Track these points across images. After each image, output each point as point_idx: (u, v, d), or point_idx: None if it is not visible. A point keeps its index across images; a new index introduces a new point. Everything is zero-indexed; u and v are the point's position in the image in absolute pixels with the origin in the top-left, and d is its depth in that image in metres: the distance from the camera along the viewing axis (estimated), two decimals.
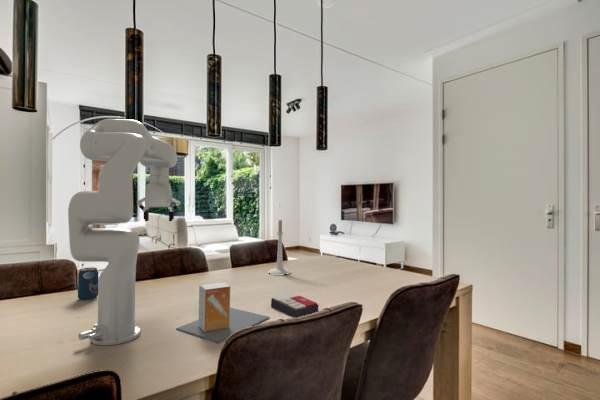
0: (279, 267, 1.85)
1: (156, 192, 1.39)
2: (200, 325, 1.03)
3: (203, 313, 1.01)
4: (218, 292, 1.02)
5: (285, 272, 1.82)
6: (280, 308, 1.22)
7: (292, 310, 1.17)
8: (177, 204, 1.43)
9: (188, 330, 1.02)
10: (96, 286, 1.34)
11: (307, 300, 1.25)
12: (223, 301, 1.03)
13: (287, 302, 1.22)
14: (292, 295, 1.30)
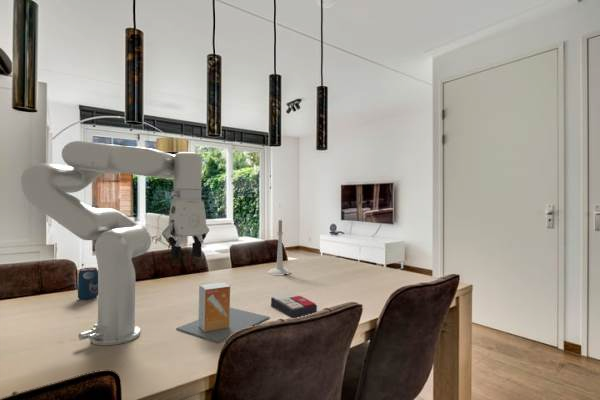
0: (279, 267, 1.85)
1: (193, 214, 0.94)
2: (200, 325, 1.03)
3: (203, 313, 1.01)
4: (218, 292, 1.02)
5: (285, 272, 1.82)
6: (279, 307, 1.23)
7: (289, 310, 1.17)
8: (206, 232, 1.01)
9: (188, 330, 1.02)
10: (96, 286, 1.34)
11: (306, 300, 1.24)
12: (223, 301, 1.03)
13: (285, 302, 1.22)
14: (293, 295, 1.31)
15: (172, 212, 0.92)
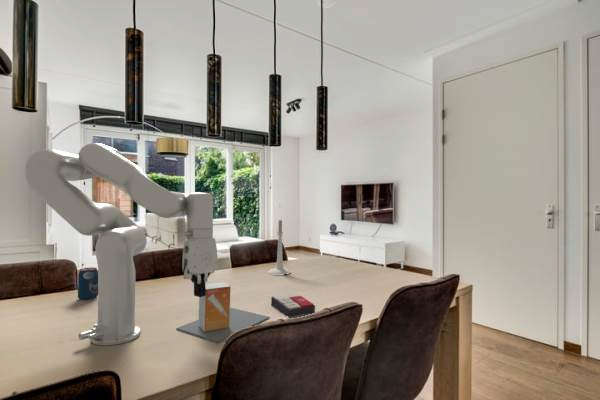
0: (279, 267, 1.85)
1: (205, 252, 0.98)
2: (200, 325, 1.03)
3: (203, 312, 1.01)
4: (218, 292, 1.02)
5: (285, 272, 1.82)
6: (277, 307, 1.24)
7: (286, 309, 1.18)
8: (210, 272, 1.02)
9: (188, 330, 1.02)
10: (96, 286, 1.34)
11: (305, 300, 1.24)
12: (224, 301, 1.03)
13: (284, 301, 1.23)
14: (293, 295, 1.31)
15: (185, 251, 0.96)
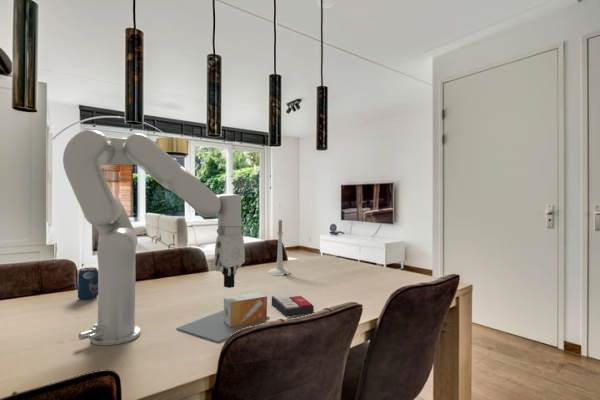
0: (279, 267, 1.85)
1: (234, 247, 1.09)
2: (228, 298, 1.08)
3: (245, 298, 1.08)
4: (263, 309, 1.11)
5: (285, 272, 1.82)
6: (276, 306, 1.24)
7: (284, 309, 1.18)
8: (238, 265, 1.13)
9: (188, 330, 1.02)
10: (96, 286, 1.34)
11: (304, 301, 1.24)
12: (254, 316, 1.09)
13: (283, 301, 1.23)
14: (293, 295, 1.31)
15: (217, 246, 1.07)
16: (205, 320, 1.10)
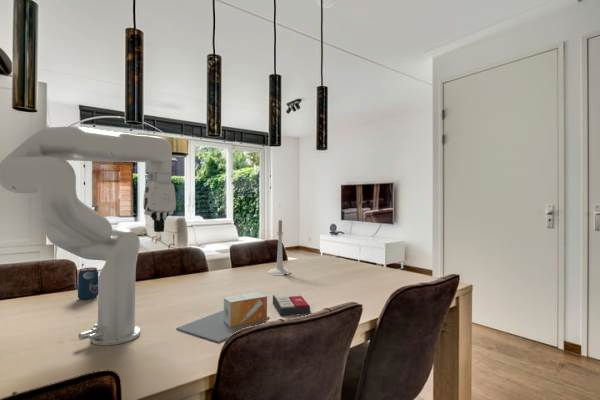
0: (279, 267, 1.85)
1: (163, 193, 1.14)
2: (228, 298, 1.08)
3: (245, 298, 1.08)
4: (263, 309, 1.11)
5: (285, 272, 1.82)
6: (275, 305, 1.26)
7: (279, 308, 1.19)
8: (169, 213, 1.19)
9: (188, 330, 1.02)
10: (96, 286, 1.34)
11: (302, 301, 1.24)
12: (254, 316, 1.09)
13: (280, 300, 1.24)
14: (295, 294, 1.31)
15: (146, 191, 1.13)
16: (205, 320, 1.10)
